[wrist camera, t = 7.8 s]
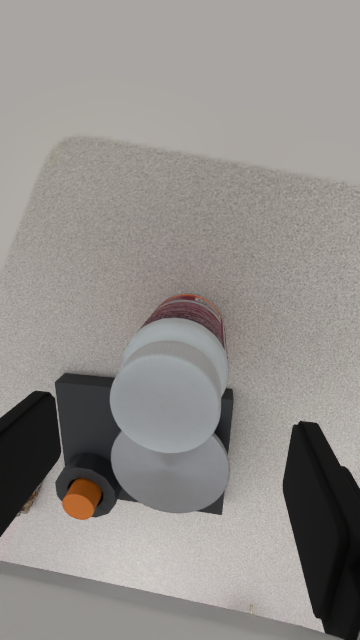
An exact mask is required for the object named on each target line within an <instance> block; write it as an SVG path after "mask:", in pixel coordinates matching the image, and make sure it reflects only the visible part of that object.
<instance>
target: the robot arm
mask: <svg viewBox="0 0 360 640" xmlns="http://www.w3.org/2000/svg"><path fill="white" fill-rule="evenodd" d="M60 454H61V445H60V436H59V428H58V420H57V411H56V403H55V398H54V397H53V396H52V394H51V393H49V392H43V391H34V392H32V393H31V394H30V395H29V396H27V397H26V398H25V399H24V400H22V401H21V402H20V403H19V404H17V405H16V406H15V407H14V408H12V409H11V410H10V411H9V412H7V413H6V414H5V415H4V416H2V417H1V418H0V537H1V536H2V534H3V533H4V532H5V530H6V529H7V528H8V526H9V525H10V524H11V522H12V521H13V520H14V518H15V517H16V516H17V514H18V513H19V512H20V510H21V509H22V507H23V506H24V505H25V503H26V502H27V501H28V499H29V498H30V497H31V495H32V494H33V493H34V491H35V490H36V489H37V487H38V486H39V485H40V483H41V482H42V481H43V479H44V478H45V477H46V475H47V474H48V473H49V471H50V470H51V469H52V467H53V466H54V465H55V463H56V462H57V461H58V459H59V457H60ZM283 494H284V498H285V502H286V506H287V510H288V514H289V518H290V522H291V526H292V530H293V534H294V538H295V542H296V546H297V550H298V554H299V558H300V562H301V566H302V570H303V574H304V578H305V582H306V586H307V590H308V594H309V597H310V601H311V605H312V609H313V613H314V615H315V617H316V618H319V619H321V620H322V624H323V627H324V631H325V633H322V632H319V631H315V630H312V629H309V628H305V627H302V626H298V625H294V624H290V623H285V622H281V621H277V620H273V619H269V618H265V617H260V616H256V615H252V614H248V613H244V612H239V611H235V610H230V609H226V608H221V607H217V606H212V605H207V604H203V603H198V602H194V601H189V600H184V599H180V598H175V597H171V596H166V595H162V594H157V593H152V592H148V591H143V590H138V589H134V588H129V587H124V586H119V585H115V584H110V583H105V582H101V581H96V580H91V579H86V578H81V577H77V576H72V575H67V574H62V573H58V572H53V571H48V570H43V569H38V568H33V567H29V566H24V565H19V564H14V563H9V562H4V561H0V640H360V488H359V487H358V485H357V483H356V481H355V480H354V478H353V476H352V474H351V473H350V471H349V470H348V469H347V468H346V467H344V466H340V464H339V462H338V460H337V458H336V456H335V454H334V453H333V451H332V449H331V447H330V445H329V443H328V441H327V440H326V438H325V436H324V434H323V432H322V430H321V428H320V427H319V425H318V424H317V423H313V422H304V421H300V422H299V423H298V425H293V428H292V434H291V440H290V445H289V451H288V456H287V462H286V467H285V473H284V479H283Z"/></svg>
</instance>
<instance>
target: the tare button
mask: <svg viewBox="0 0 360 640" xmlns="http://www.w3.org/2000/svg"><path fill="white" fill-rule="evenodd" d="M101 495H102V491H101V489H100V488H99V486H98V485H97V484H96V483H94V482H92V481H91V480H89V479H83V478H79V479H76V480H75V481H74V482H73V484H72V485H71V487H70V489H69V490H68V492H67V494H66V495H65V497H64V499H63V502H62V505H63V508H64V510H65V512H66V513H67V514H68V515H70V516H71V517H73V518H76V519H80V520H85V519H88V518H90V517H91V516H92V515H93V513H94V511H95V509H96V507H97V505H98V502H99V500H100V498H101Z"/></svg>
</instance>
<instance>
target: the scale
mask: <svg viewBox="0 0 360 640" xmlns="http://www.w3.org/2000/svg"><path fill="white" fill-rule="evenodd" d="M114 379H115V378H107V377H97V376H86V375H76V374H66V373H65V374H63V375H62V376H61V377H60V378H59V379H58V380H57V381H55V388H56V396H57V404H58V412H59V420H60V429H61V437H62V445H63V453H64V461H65V468H64V469H63V471H62V472H61V474H60V475H59V477H58V479H57V480H56V482H55V484H56V491H57V496H58V497H59V498H60V500H61V501H62V502H63V499H64V497H65V495H66V494H67V492H68V490H69V489H70V487H71V485H72V484H73V482H74V481H75V480H76V479H79V478H83V479H89V480H91V481H92V482H94V483H96V484H97V485H98V486H99V488H100V489H101V491H102V495H101V498H100V500H99V502H98V505H97V507H96V509H95V511H94V513H93V515H92V516H91V517H98V516H102V515H105V514H108V513H109V512H110V511H111V509H112V508H113V507H114V505H115V504H116V502H117V499H120V500H126V501H133V502H139V501H137V500H136V499H134V498H133V497H132V496H130V495H129V494H128V493H127V492H126V491H125V490H124V489H123V487H122V486H121V485H120V484H119V482H118V480H117V479H116V477H115V474H114V472H113V469H112V464H111V451H112V447H113V444H114V441H115V439H116V437H117V436H118V434H119V432H120V431H121V429H120V427H119V426H118V425H117V423H116V421H115V419H114V417H113V414H112V411H111V406H110V391H111V387H112V384H113V381H114ZM232 410H233V391H232V389H225V391H224V393H223V395H222V397H221V415H220V419H219V423H218V425H217V427H216V429H215V431H214V433H215V434H216V435H217V437H218V438H219V439H220V441H221V442H222V444H223V445H224V447H225V449H226V452H227V455H228V449H229V440H230V430H231V420H232ZM223 499H224V492H223V493H222V495H221V496H220V497H219V498H218V499H217V500H216V501H215V502H214V503H212V504H211V505H209V506H207V507H205V508H203V509H200V510H197V511H199V512H205V513H212V514H219V515H222V509H223Z"/></svg>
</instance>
